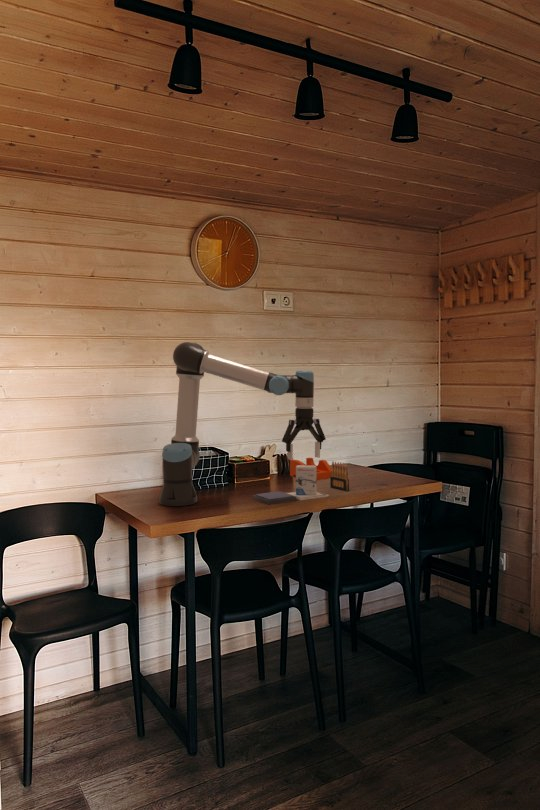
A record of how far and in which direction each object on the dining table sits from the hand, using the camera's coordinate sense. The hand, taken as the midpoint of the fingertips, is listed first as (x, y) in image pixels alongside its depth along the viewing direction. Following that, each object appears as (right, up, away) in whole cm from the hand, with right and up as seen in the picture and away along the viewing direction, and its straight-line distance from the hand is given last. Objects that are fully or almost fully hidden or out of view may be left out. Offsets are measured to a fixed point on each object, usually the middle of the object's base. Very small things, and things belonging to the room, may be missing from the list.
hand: (303, 458), depth 265 cm
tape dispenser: (+6, -14, +45) cm, 47 cm away
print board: (+1, -16, +1) cm, 16 cm away
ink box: (+1, -15, +1) cm, 15 cm away
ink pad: (-12, -16, -7) cm, 21 cm away
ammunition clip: (+16, -15, +14) cm, 26 cm away
